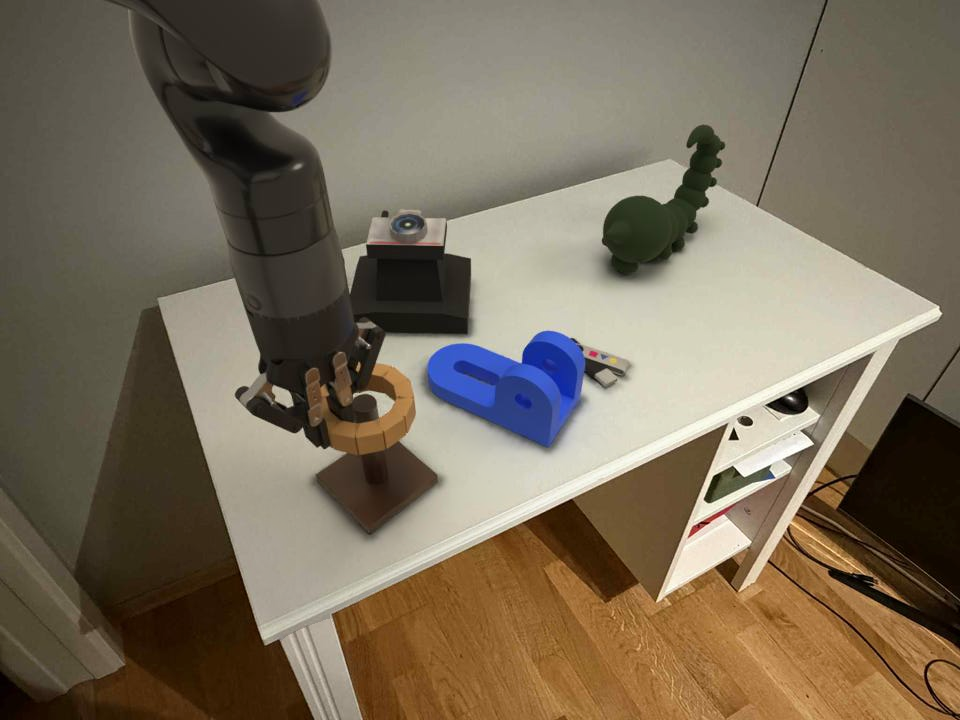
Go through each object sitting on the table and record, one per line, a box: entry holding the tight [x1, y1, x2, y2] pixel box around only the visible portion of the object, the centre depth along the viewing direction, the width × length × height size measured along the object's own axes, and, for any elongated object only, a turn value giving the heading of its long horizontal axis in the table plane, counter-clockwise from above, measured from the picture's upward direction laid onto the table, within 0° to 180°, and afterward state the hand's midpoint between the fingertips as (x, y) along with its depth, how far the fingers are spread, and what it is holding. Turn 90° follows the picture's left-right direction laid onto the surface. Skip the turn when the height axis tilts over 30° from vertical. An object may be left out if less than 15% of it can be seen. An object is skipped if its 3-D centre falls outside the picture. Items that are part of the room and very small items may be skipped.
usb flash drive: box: [569, 337, 630, 388], centre depth 80 cm, size 9×5×1 cm, turn 33°
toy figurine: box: [601, 124, 726, 275], centre depth 92 cm, size 9×19×25 cm
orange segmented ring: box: [320, 362, 417, 455], centre depth 59 cm, size 9×9×2 cm
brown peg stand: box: [315, 393, 439, 535], centre depth 63 cm, size 9×9×12 cm
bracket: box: [427, 330, 586, 448], centre depth 73 cm, size 18×8×9 cm, turn 59°
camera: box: [349, 209, 472, 335], centre depth 84 cm, size 16×14×15 cm
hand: (332, 435), depth 58 cm, fingers closed on orange segmented ring, 1 cm apart
